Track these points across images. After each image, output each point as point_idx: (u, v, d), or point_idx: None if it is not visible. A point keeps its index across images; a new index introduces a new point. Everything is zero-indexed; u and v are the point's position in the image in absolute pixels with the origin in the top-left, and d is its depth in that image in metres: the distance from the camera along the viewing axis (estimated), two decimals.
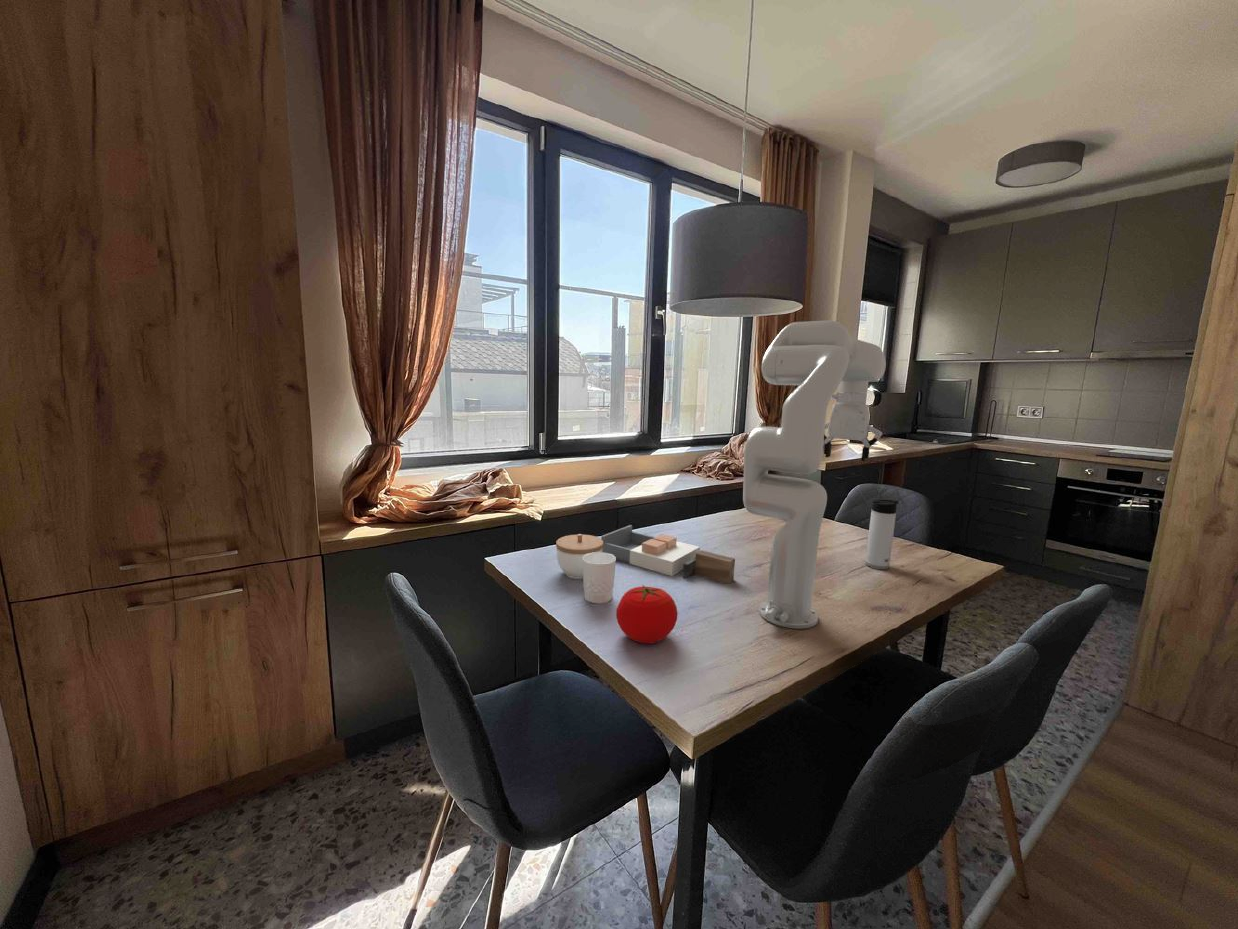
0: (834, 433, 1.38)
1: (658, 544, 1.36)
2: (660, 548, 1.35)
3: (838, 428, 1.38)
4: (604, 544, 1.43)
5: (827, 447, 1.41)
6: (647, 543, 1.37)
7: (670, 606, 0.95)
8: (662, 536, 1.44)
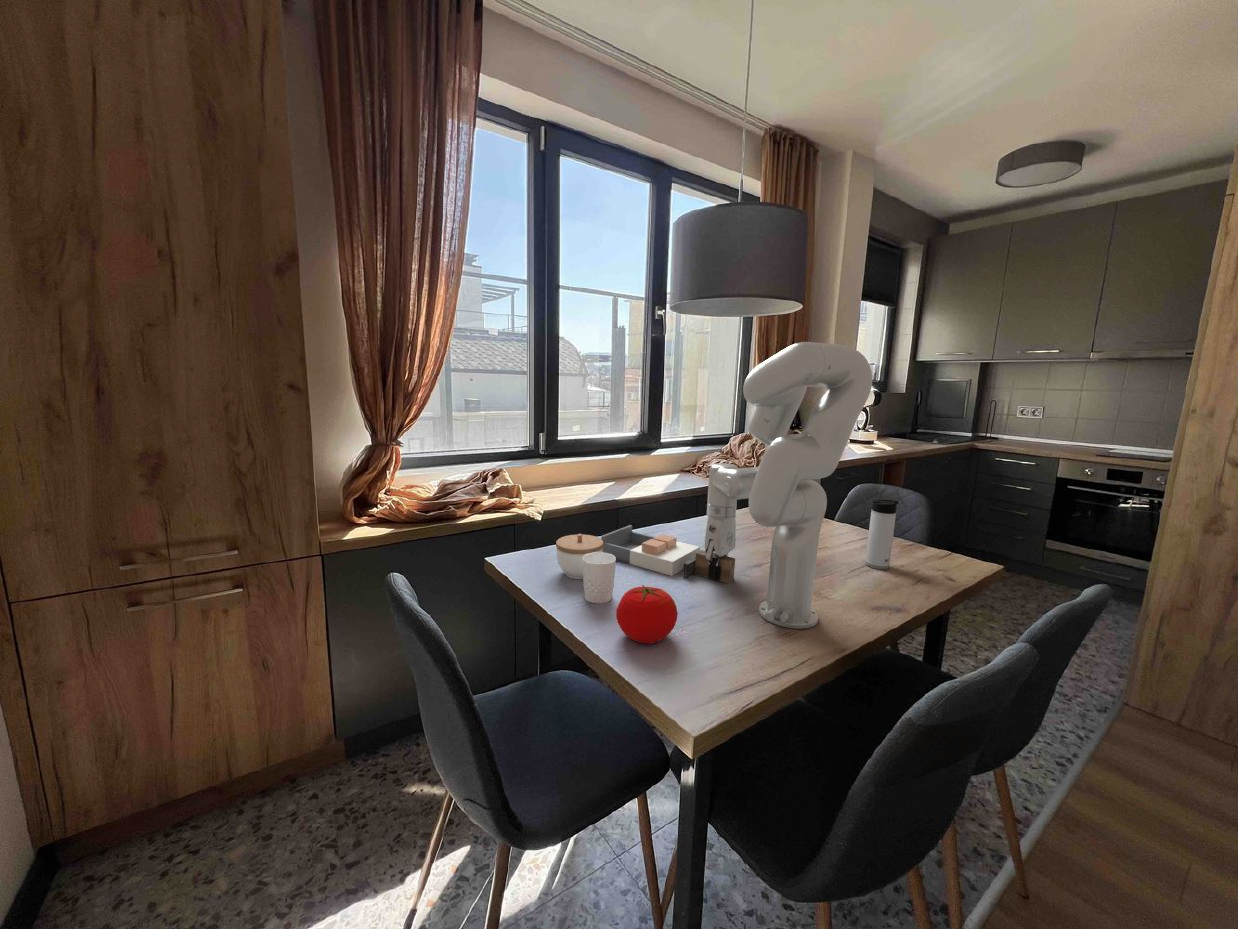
0: (724, 551, 1.25)
1: (658, 544, 1.36)
2: (660, 548, 1.35)
3: (725, 545, 1.25)
4: (604, 544, 1.43)
5: (720, 569, 1.27)
6: (647, 543, 1.37)
7: (670, 606, 0.95)
8: (662, 536, 1.44)
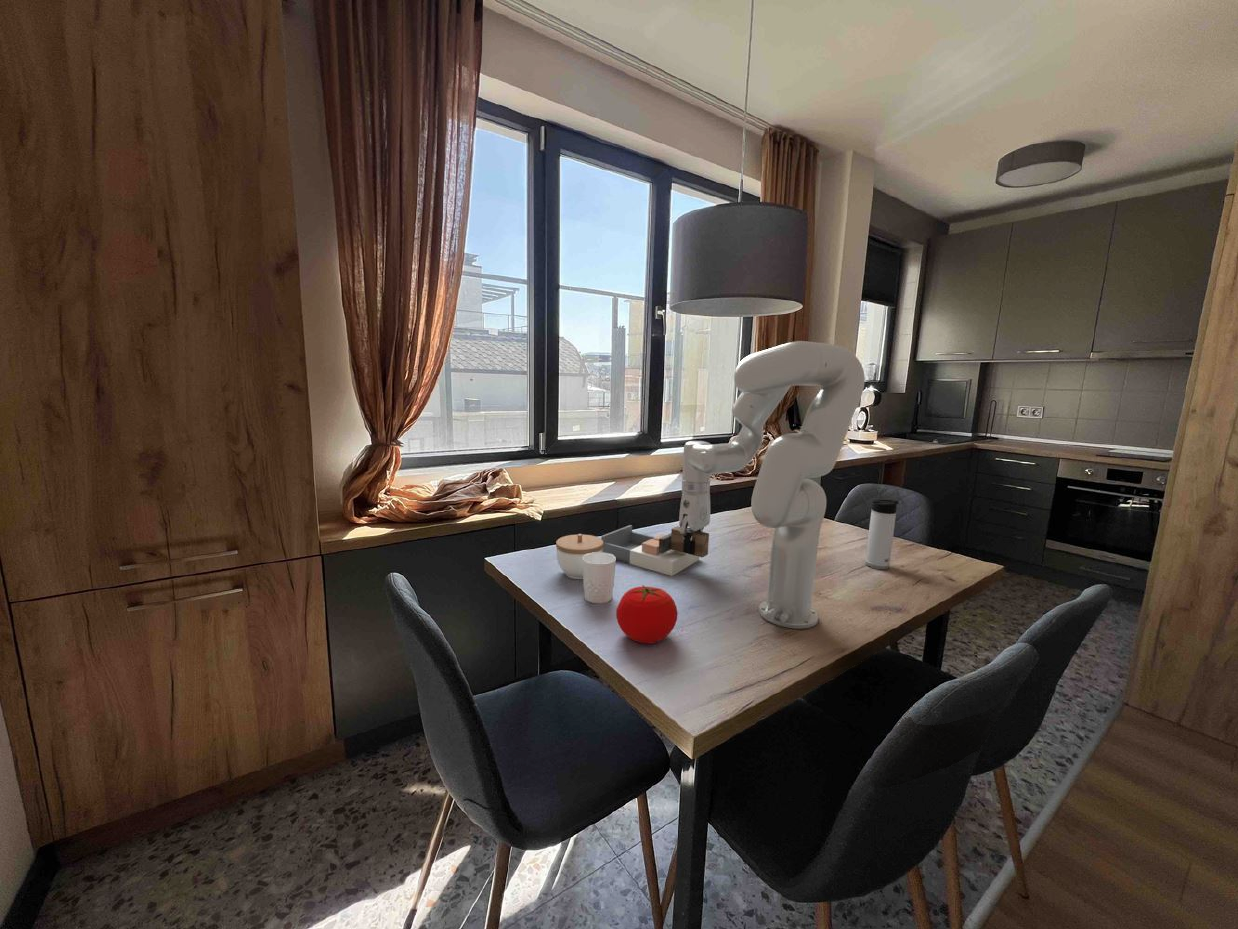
0: (697, 526, 1.28)
1: (658, 544, 1.36)
2: None
3: (699, 520, 1.29)
4: (604, 544, 1.43)
5: (694, 544, 1.31)
6: (647, 543, 1.37)
7: (670, 606, 0.95)
8: (662, 536, 1.44)
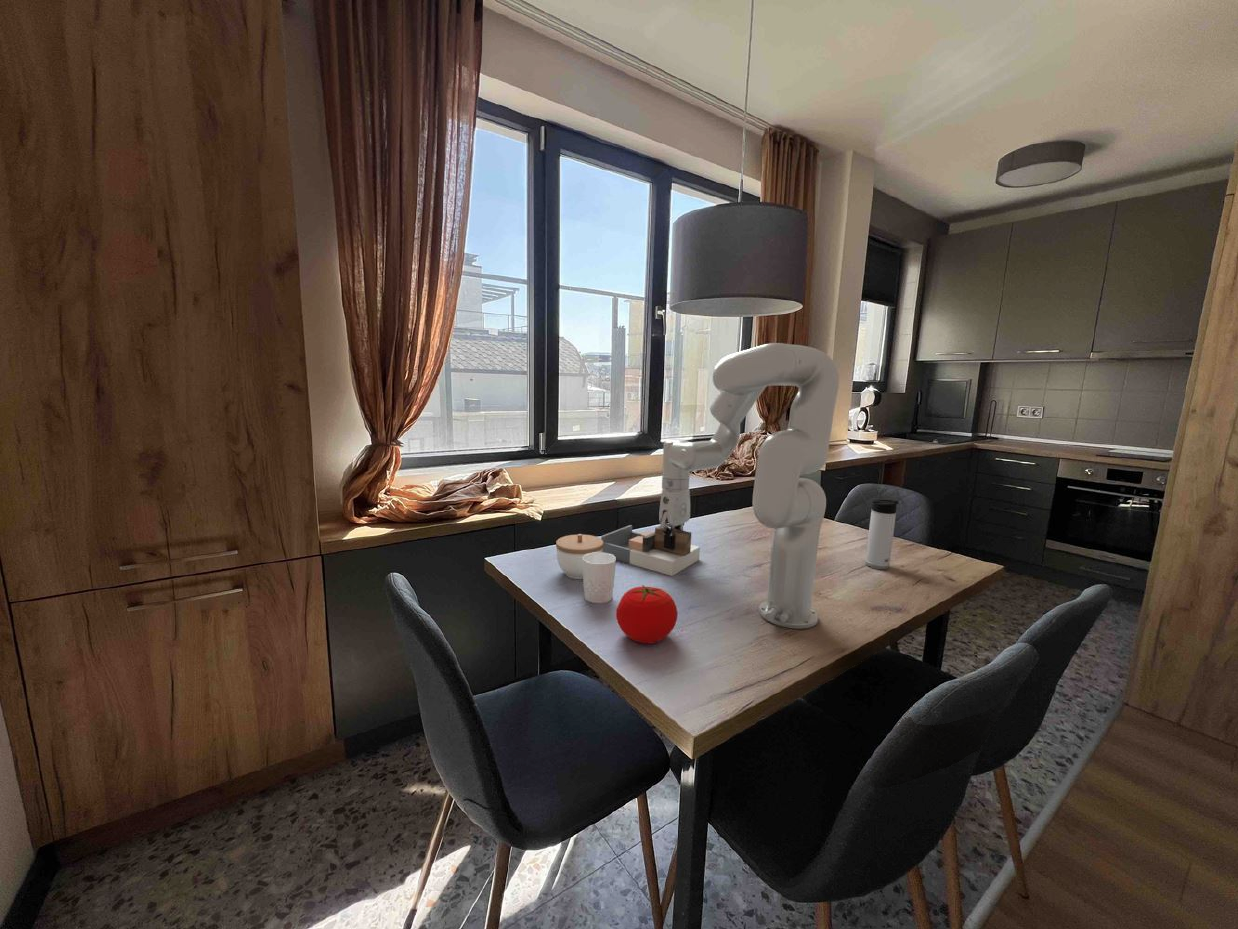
0: (677, 521, 1.32)
1: None
2: None
3: (679, 515, 1.32)
4: (604, 544, 1.43)
5: (674, 539, 1.34)
6: (634, 540, 1.39)
7: (670, 606, 0.95)
8: (650, 533, 1.46)
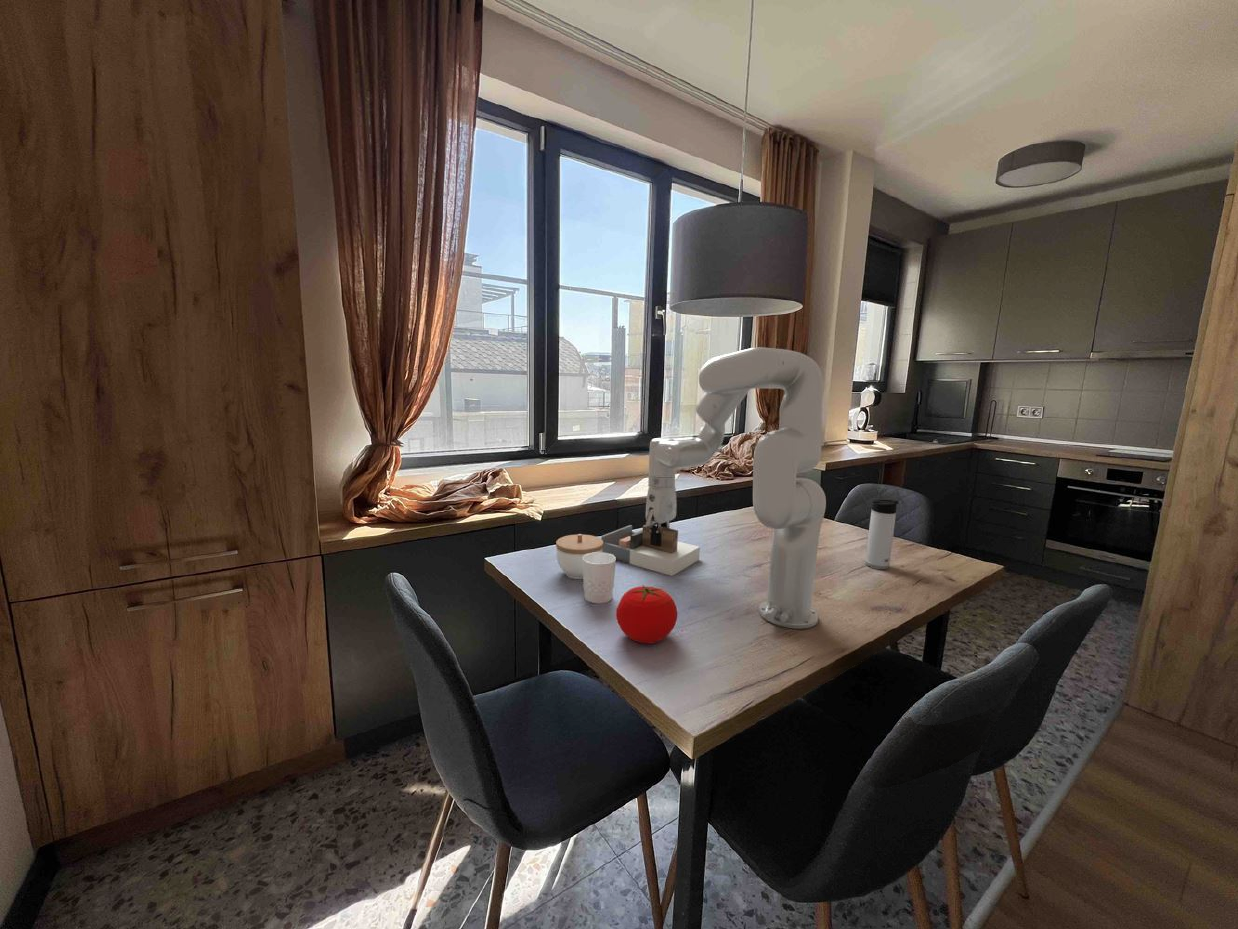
0: (663, 519, 1.35)
1: None
2: (624, 539, 1.42)
3: (665, 513, 1.35)
4: (604, 544, 1.43)
5: (660, 536, 1.37)
6: None
7: (670, 606, 0.95)
8: None
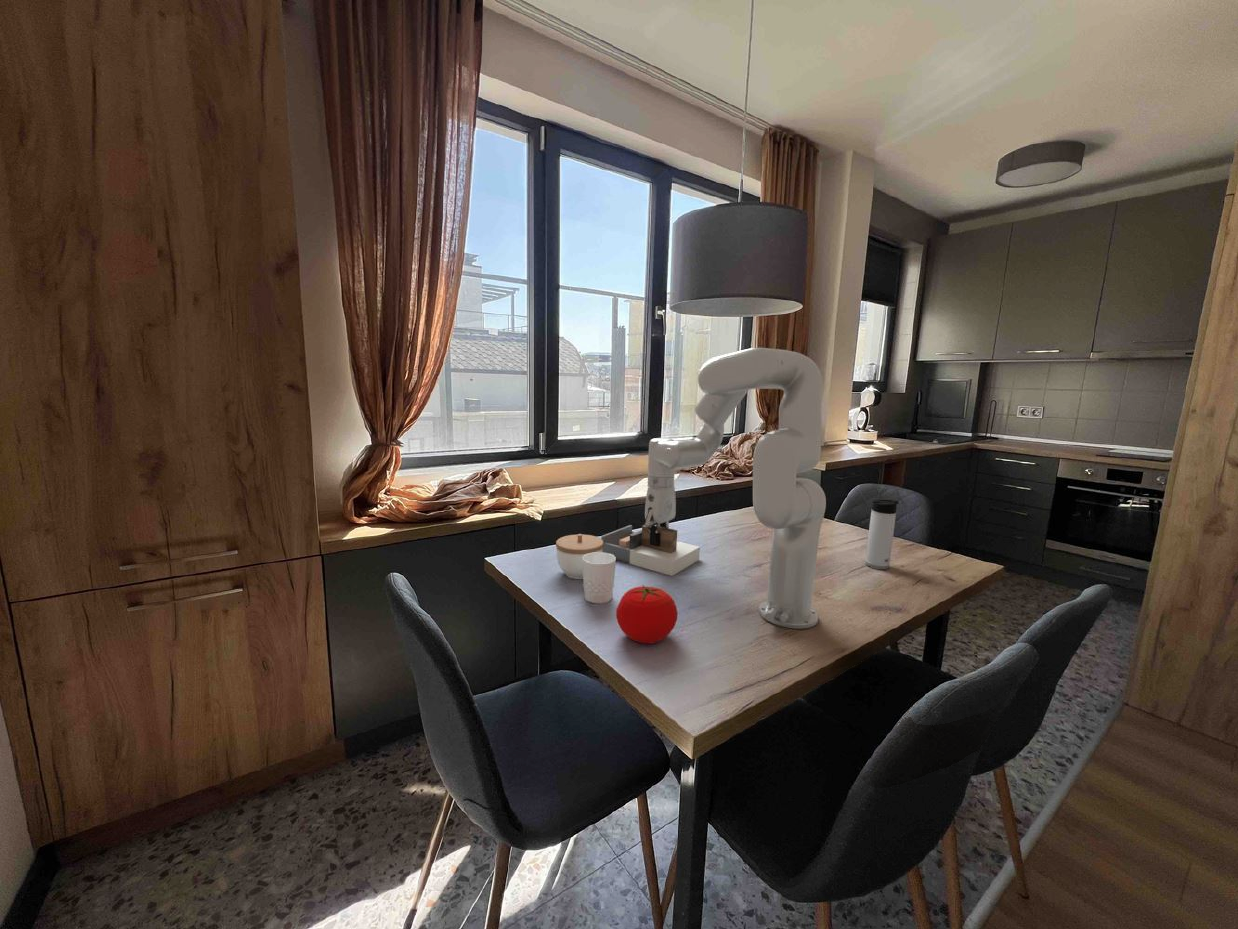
0: (662, 519, 1.35)
1: None
2: (624, 539, 1.42)
3: (664, 513, 1.35)
4: (604, 544, 1.43)
5: (659, 536, 1.37)
6: None
7: (670, 606, 0.95)
8: None
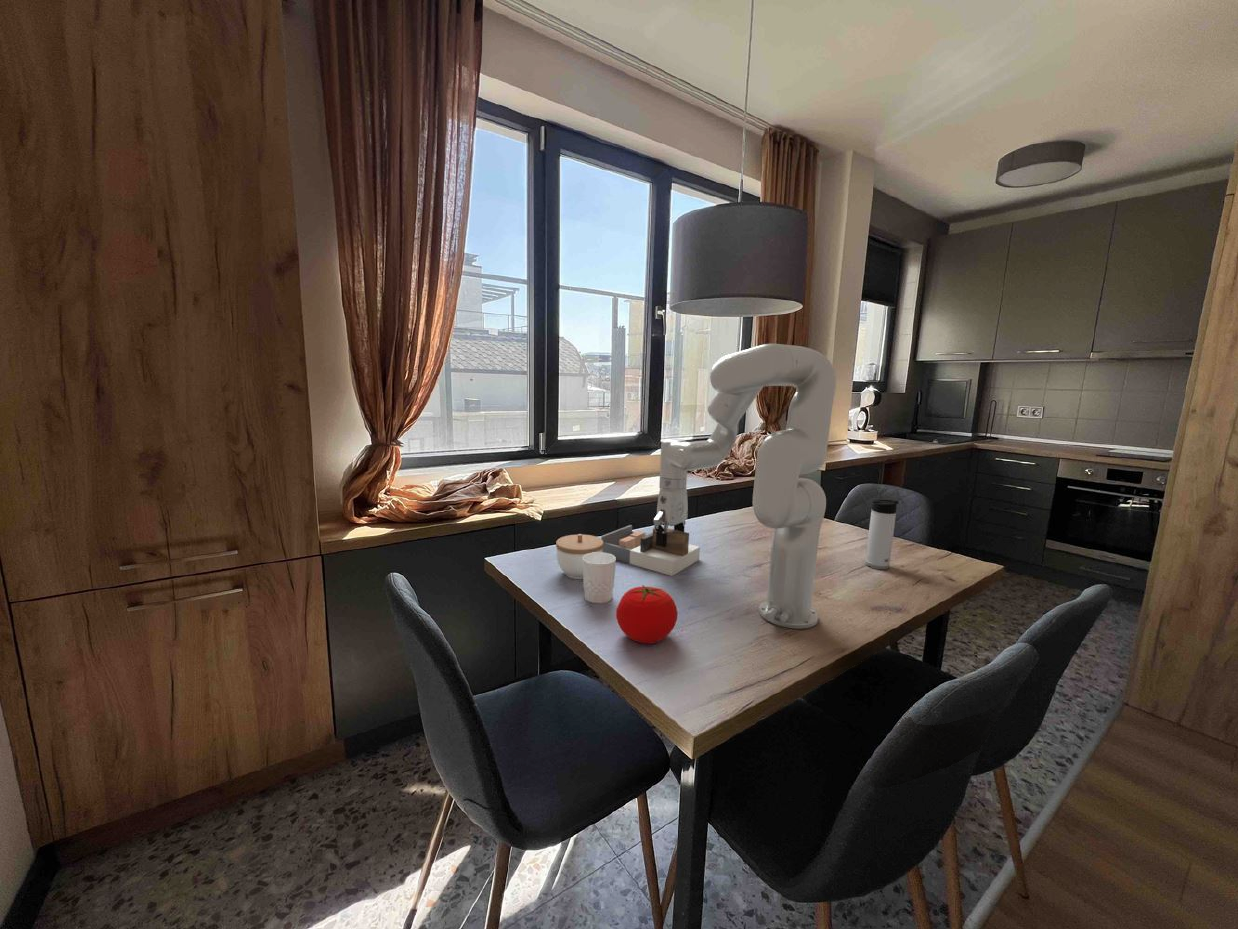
0: (674, 521, 1.32)
1: None
2: (624, 539, 1.42)
3: (676, 515, 1.33)
4: (604, 544, 1.43)
5: (666, 537, 1.32)
6: None
7: (670, 606, 0.95)
8: None
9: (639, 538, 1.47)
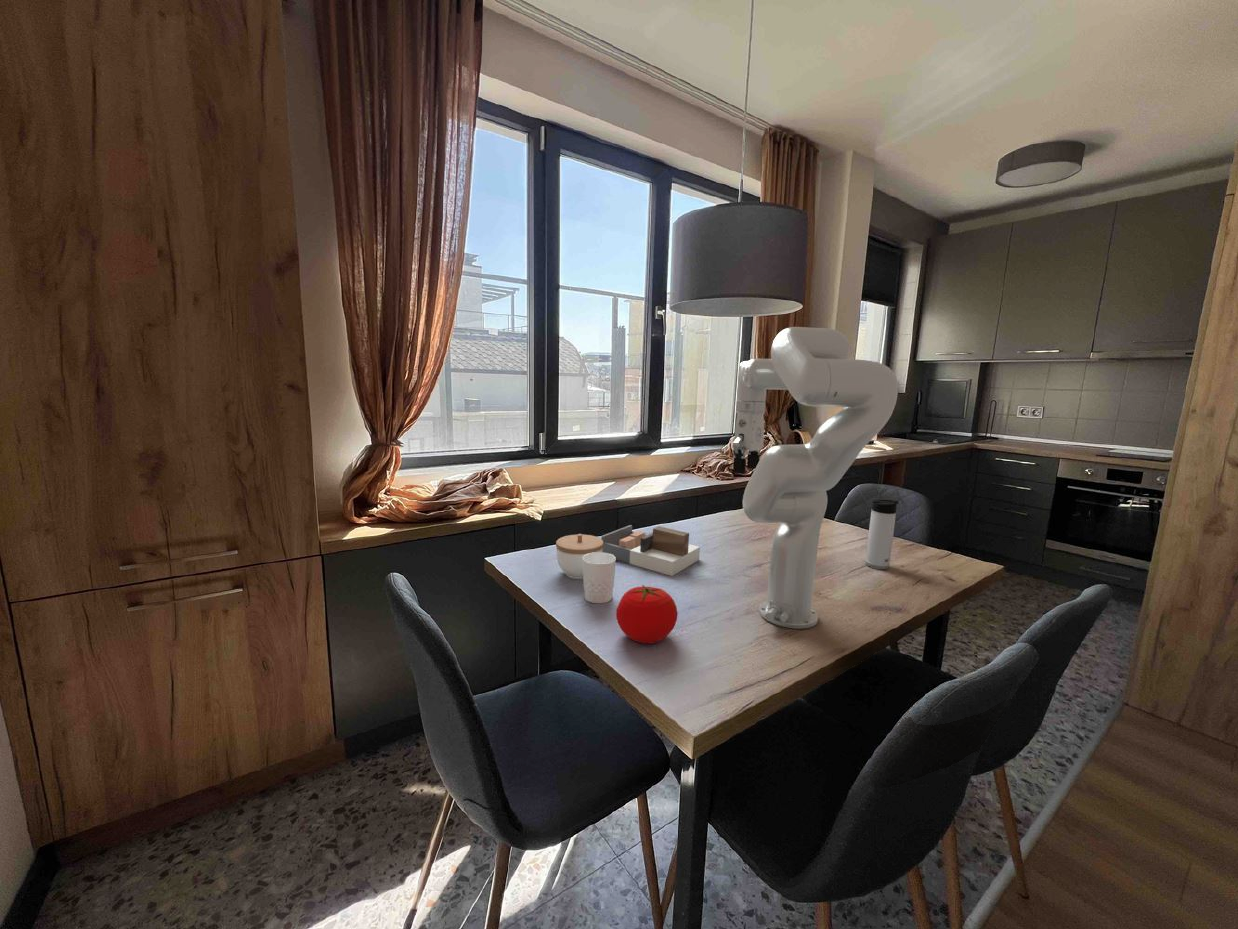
0: (753, 446, 1.27)
1: None
2: (624, 539, 1.42)
3: (755, 440, 1.27)
4: (604, 544, 1.43)
5: (745, 462, 1.27)
6: None
7: (670, 606, 0.95)
8: None
9: (639, 538, 1.47)
